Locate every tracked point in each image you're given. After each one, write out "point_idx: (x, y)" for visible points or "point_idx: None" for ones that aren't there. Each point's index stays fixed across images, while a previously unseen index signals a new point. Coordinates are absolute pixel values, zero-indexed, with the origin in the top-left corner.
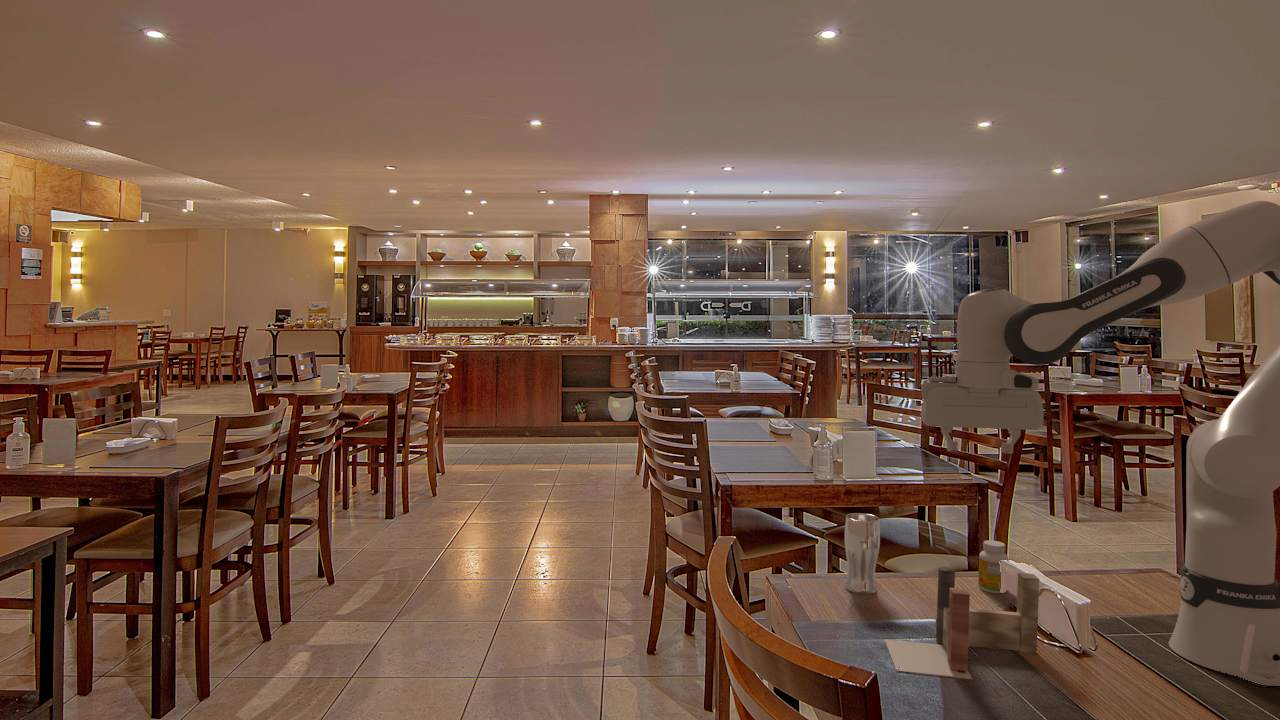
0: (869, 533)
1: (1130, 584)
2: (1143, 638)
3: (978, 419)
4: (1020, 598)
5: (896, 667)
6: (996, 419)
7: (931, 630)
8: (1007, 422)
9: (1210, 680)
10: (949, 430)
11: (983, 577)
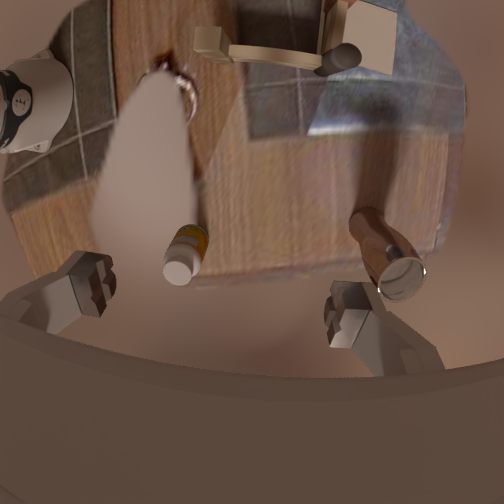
0: (398, 245)
1: (60, 265)
2: (83, 123)
3: (221, 439)
4: (226, 43)
5: (395, 18)
6: (53, 400)
7: (326, 99)
8: (2, 352)
9: (76, 44)
10: (415, 360)
11: (203, 240)
